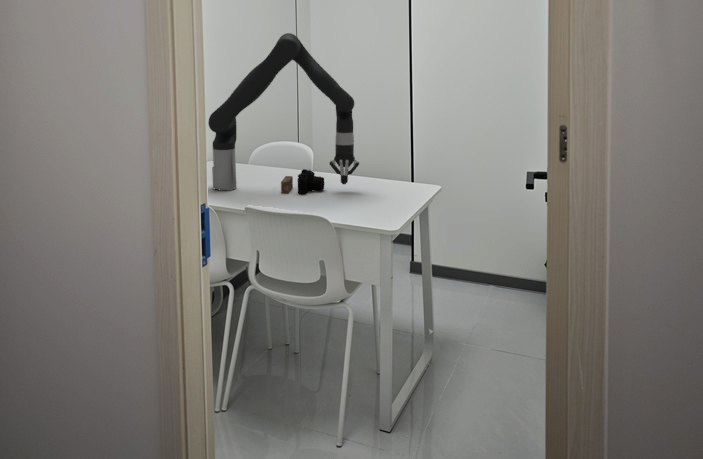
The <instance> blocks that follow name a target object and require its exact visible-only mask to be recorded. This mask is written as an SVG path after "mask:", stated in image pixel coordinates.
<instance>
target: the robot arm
mask: <svg viewBox="0 0 703 459" xmlns="http://www.w3.org/2000/svg"><path fill="white" fill-rule="evenodd" d="M292 61H294V62H295V63H296V64H297V65H299V67H300V68H301V69H302V70H303V72H305V74H306V76H307V77H308V78H309V80H310V82H312V84H313V85H314V86H316V88H317V89H318V90H319V91H320V92H322V94H323V95H324V96H325V97H327V98H328V99H329V100H330V101H331V102H332V104H333V105H335V114H336V115H335V116H336V121H335V122H336V123H335V127H336V128H335V149H334V150H335V155H334V158H333V160H330V161H329V163H328V164H329V165H330V167H331V168H332V170H334V172H335V173H336V174H337V175H340V183H341V184H342V185H346V184H347V183H348V180H349V175H352V174H353V173H354V172H355V170H356V169H357V168H358V166H360V162H359V161H357V160H356V157H355V155H354V152H355V150H354V146H355V144H354V143H355V140H354V138H355V135H354V120H353V109H354V107H355V100H354V98H353V96H351V94H349V93H348V92H347V91H346V90H345V89H344V88H343V87H342V86H340V84H339V83H338V82H337V80H335V79H334V78H333V77H332V75H331V74H330V73H328V71H326V70H325V69H324V68H323V67H322V66H321V64H320V63H318V62H317V60H316V59H315V58H314V57H313V56H312V54H310V53H309V51H308V49H307V48H306V47H305V46H304V44H303V43H302V42H301V40H300V39H299V37H298V36H297V35H295V34H293V33H291V32H290V33H289V32H288V33H284V34H282V35H281V36H280V37H279V38H278V40H277V41H276V43H275V45H274V47H273V48H272V50H271V51H270V52H269V54H268V55H267V56H266V57H265V58H264V59H263V60H262V61H261V62H260V63H258V64H257V65H256V66H255V67H254V68H253V69H252V70H251V71H250V72H249V73H247V75H246V76H245V77H244V78H243V79H242V80H241V82H240V83H239V84H238V85H237V87H236V88H235V89H234V90H233V92H231V94H230V95H229V97H228V98H227V99H226V100H225V101H224V102H223V103H222V104H221V105H220V106H219V107H217V109H215V110H214V111H213V112H212V113H211V114H210V115H209V118H208V127H209V129H210V130H211V131H212V132H214V133H215V135H214V136H215V137H214V139H213V141H212V158H213V159H212V161H213V166H212V168H211V170H212V171H211V172H212V173H211V174H212V189H213V188H215V189H220V190H219V191H222V190H227V191H234V190H235V189H237V166H236V165H237V164H236V160H237V159H236V142H237V117H238V115H239V114H240V113H241V112H243V111H244V109H246V108H248V107H249V106H250V105H252V104H253V103H254V102H256V101H257V100H258V99H259V98H260V97H261V95H263V93H264V92H266V90H267V89H268V87H269V86H270V85H271V83H273V81H274V79H276V77H277V75H279V73H280V72H281V71H282V70H283V69H284V68H285V67H286V66H287V65H288V64H289V63H290V62H292ZM336 164H337V165H338V167H339V168H338V167H337V165H336ZM352 164H353V166H352V167H351V165H352ZM349 167H351V169H350V168H349ZM349 169H350V170H349ZM215 189H214V190H215ZM233 189H234V190H233Z"/></svg>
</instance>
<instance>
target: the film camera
mask: <svg viewBox="0 0 703 459" xmlns="http://www.w3.org/2000/svg"><path fill="white" fill-rule="evenodd" d="M297 177H298V178H297V194H298V195H300V196H301V195H302V196H303V195H307V194H308V193H309V192H312V193H313V192H321V191H324V189H325V178H324V176H323V177H322V176H316V175H315V172H314V171H312V170H311V169H305V168H303V169H301V172H300V173H299V174H298V175H297Z"/></svg>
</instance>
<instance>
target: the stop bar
mask: <svg viewBox="0 0 703 459" xmlns="http://www.w3.org/2000/svg"><path fill="white" fill-rule="evenodd" d="M293 179H294V178H293V176H292V175H289V176H288V175H285V176H284V178H283V179H281V182H280V191H281V192H280V193H281V194H282V195H283V194H284V195H285V194H286V195H288V194H290V193H291V191H292V189H293V186H294V184H293Z"/></svg>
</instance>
